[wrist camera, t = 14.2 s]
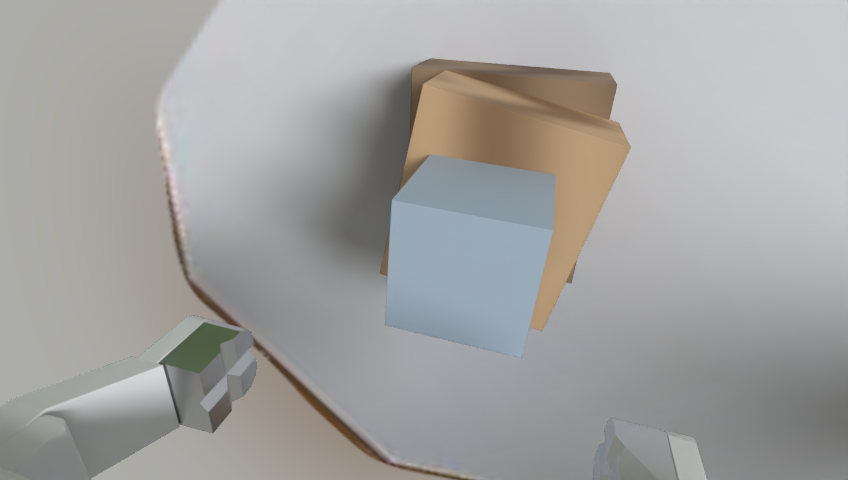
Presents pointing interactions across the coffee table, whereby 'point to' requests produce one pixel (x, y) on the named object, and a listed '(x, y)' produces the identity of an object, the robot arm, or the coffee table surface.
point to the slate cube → (469, 252)
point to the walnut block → (527, 86)
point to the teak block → (523, 158)
